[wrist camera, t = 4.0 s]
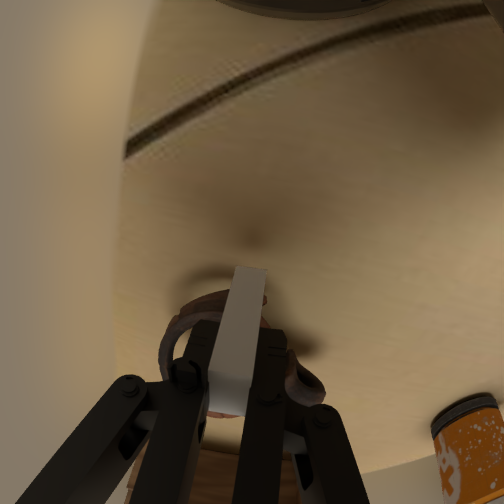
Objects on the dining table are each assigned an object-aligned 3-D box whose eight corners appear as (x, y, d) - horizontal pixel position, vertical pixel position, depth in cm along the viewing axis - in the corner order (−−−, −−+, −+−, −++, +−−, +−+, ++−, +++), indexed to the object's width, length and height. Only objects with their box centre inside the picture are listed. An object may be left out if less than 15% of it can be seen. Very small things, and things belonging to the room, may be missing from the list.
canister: (440, 402, 28) (469, 567, 10) (517, 379, 26) (562, 520, 8) (423, 438, 32) (439, 574, 15) (492, 418, 30) (521, 540, 13)
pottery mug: (180, 362, 27) (134, 398, 19) (211, 263, 27) (167, 269, 19) (307, 411, 25) (301, 467, 17) (350, 313, 25) (365, 342, 16)
